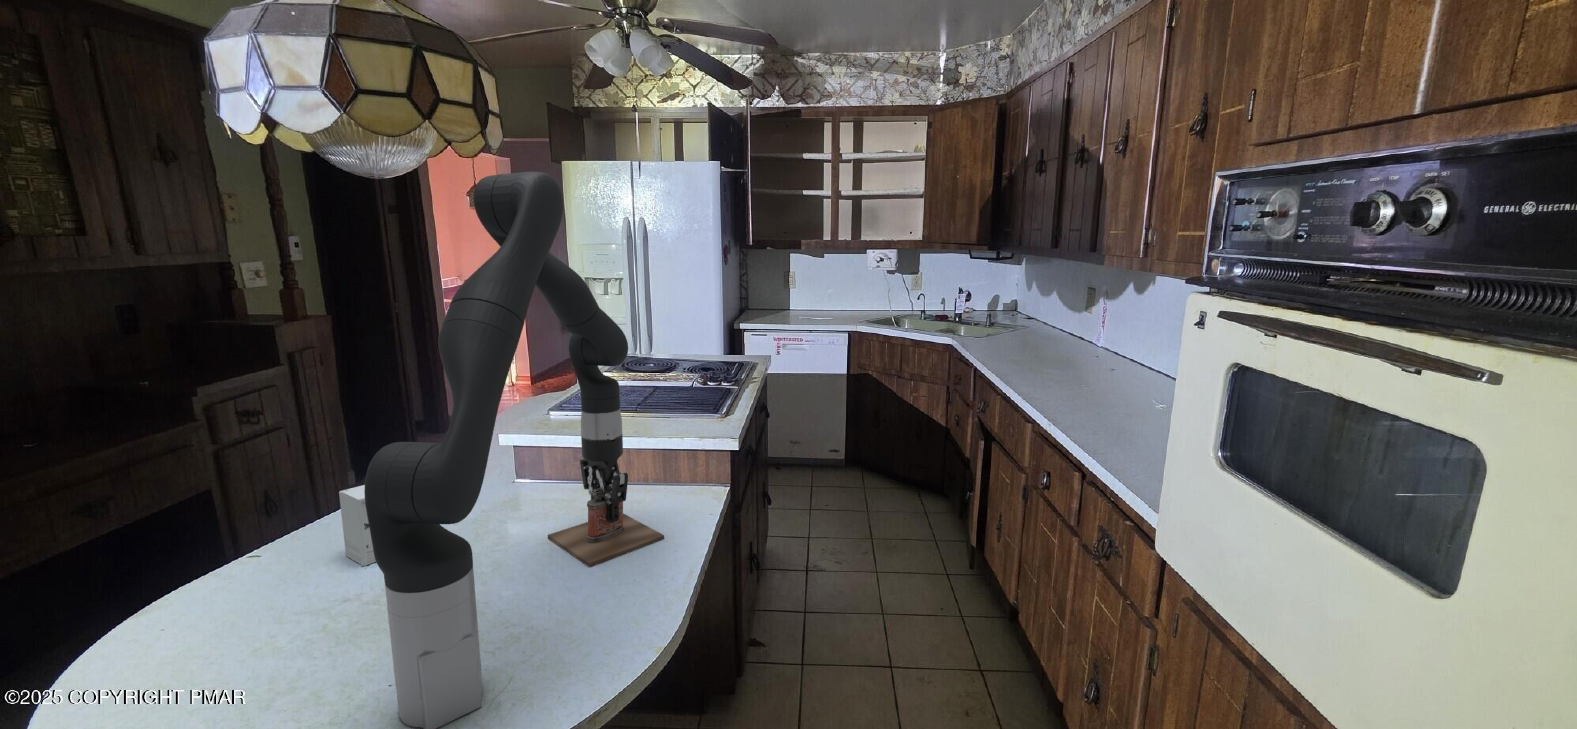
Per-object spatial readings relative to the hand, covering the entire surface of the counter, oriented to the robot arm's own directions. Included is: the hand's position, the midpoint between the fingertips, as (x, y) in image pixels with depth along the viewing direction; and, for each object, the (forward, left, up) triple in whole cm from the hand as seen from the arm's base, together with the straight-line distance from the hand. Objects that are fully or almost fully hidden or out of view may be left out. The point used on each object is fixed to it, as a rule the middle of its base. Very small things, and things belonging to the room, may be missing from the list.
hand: (605, 516), depth 122 cm
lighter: (0, 0, -4) cm, 4 cm away
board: (0, 0, -5) cm, 5 cm away
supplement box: (+24, +33, -5) cm, 41 cm away
